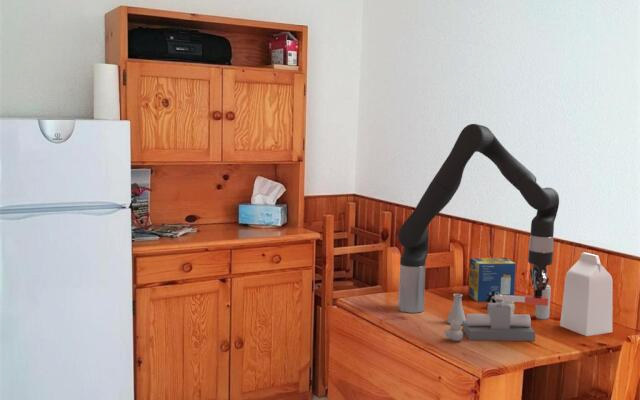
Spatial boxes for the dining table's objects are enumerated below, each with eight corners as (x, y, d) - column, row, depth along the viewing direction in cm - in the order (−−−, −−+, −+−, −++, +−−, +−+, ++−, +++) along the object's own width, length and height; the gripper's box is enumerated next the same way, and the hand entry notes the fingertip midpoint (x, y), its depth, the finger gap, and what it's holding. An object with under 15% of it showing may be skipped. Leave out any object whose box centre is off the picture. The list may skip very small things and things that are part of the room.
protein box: (468, 295, 265) (469, 257, 263) (504, 294, 267) (506, 257, 265) (476, 302, 255) (478, 263, 253) (514, 301, 256) (516, 262, 255)
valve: (519, 316, 237) (499, 307, 248) (520, 298, 236) (499, 290, 247) (504, 318, 234) (484, 309, 245) (505, 300, 234) (485, 292, 245)
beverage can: (532, 316, 237) (534, 283, 236) (545, 315, 237) (547, 283, 236) (538, 320, 232) (540, 287, 231) (551, 319, 233) (553, 286, 231)
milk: (559, 325, 226) (563, 252, 223) (585, 322, 230) (589, 249, 227) (586, 336, 215) (591, 258, 212) (612, 332, 219) (617, 256, 216)
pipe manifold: (469, 339, 210) (470, 305, 209) (462, 329, 221) (463, 296, 219) (534, 340, 210) (536, 306, 208) (524, 330, 220) (526, 297, 219)
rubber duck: (467, 341, 208) (468, 317, 207) (450, 344, 205) (451, 320, 204) (456, 336, 213) (457, 313, 212) (439, 339, 210) (440, 315, 209)
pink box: (494, 301, 213) (494, 295, 212) (494, 299, 216) (494, 292, 215) (547, 305, 208) (548, 299, 208) (547, 303, 211) (547, 296, 211)
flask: (468, 320, 230) (469, 293, 229) (466, 326, 224) (467, 298, 223) (447, 318, 233) (448, 291, 232) (444, 324, 226) (445, 296, 225)
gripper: (523, 244, 218) (520, 295, 221) (535, 253, 205) (531, 306, 208) (546, 245, 218) (543, 295, 220) (559, 253, 205) (555, 307, 207)
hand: (537, 300), depth 214 cm, fingers closed
